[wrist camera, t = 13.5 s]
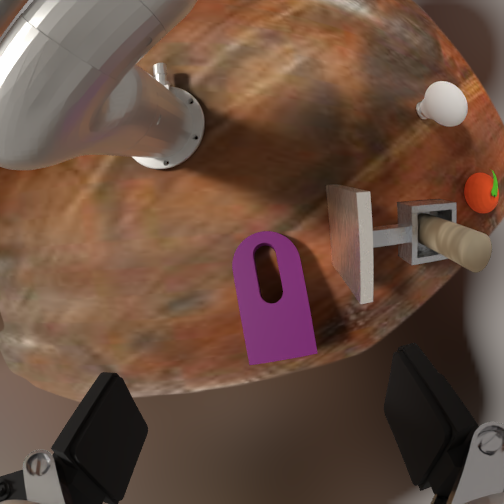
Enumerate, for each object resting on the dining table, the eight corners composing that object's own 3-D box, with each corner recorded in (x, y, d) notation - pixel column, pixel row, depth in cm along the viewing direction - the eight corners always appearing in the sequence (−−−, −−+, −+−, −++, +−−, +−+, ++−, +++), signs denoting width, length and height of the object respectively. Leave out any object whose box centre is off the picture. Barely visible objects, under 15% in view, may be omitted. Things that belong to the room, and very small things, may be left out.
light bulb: (422, 139, 37) (463, 134, 26) (395, 107, 36) (432, 92, 25) (442, 115, 35) (482, 107, 25) (416, 84, 34) (453, 68, 24)
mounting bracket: (237, 248, 49) (255, 354, 46) (227, 238, 41) (249, 365, 37) (292, 238, 48) (312, 344, 45) (293, 225, 40) (317, 353, 37)
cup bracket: (325, 185, 40) (356, 192, 26) (414, 178, 39) (468, 185, 25) (332, 263, 43) (360, 304, 29) (416, 251, 42) (464, 281, 28)
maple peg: (410, 214, 32) (468, 235, 21) (434, 212, 32) (493, 231, 21) (410, 244, 33) (464, 275, 22) (433, 241, 33) (489, 269, 22)
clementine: (461, 160, 37) (487, 161, 30) (485, 173, 37) (510, 176, 31) (453, 203, 39) (478, 210, 33) (477, 214, 40) (502, 222, 33)
